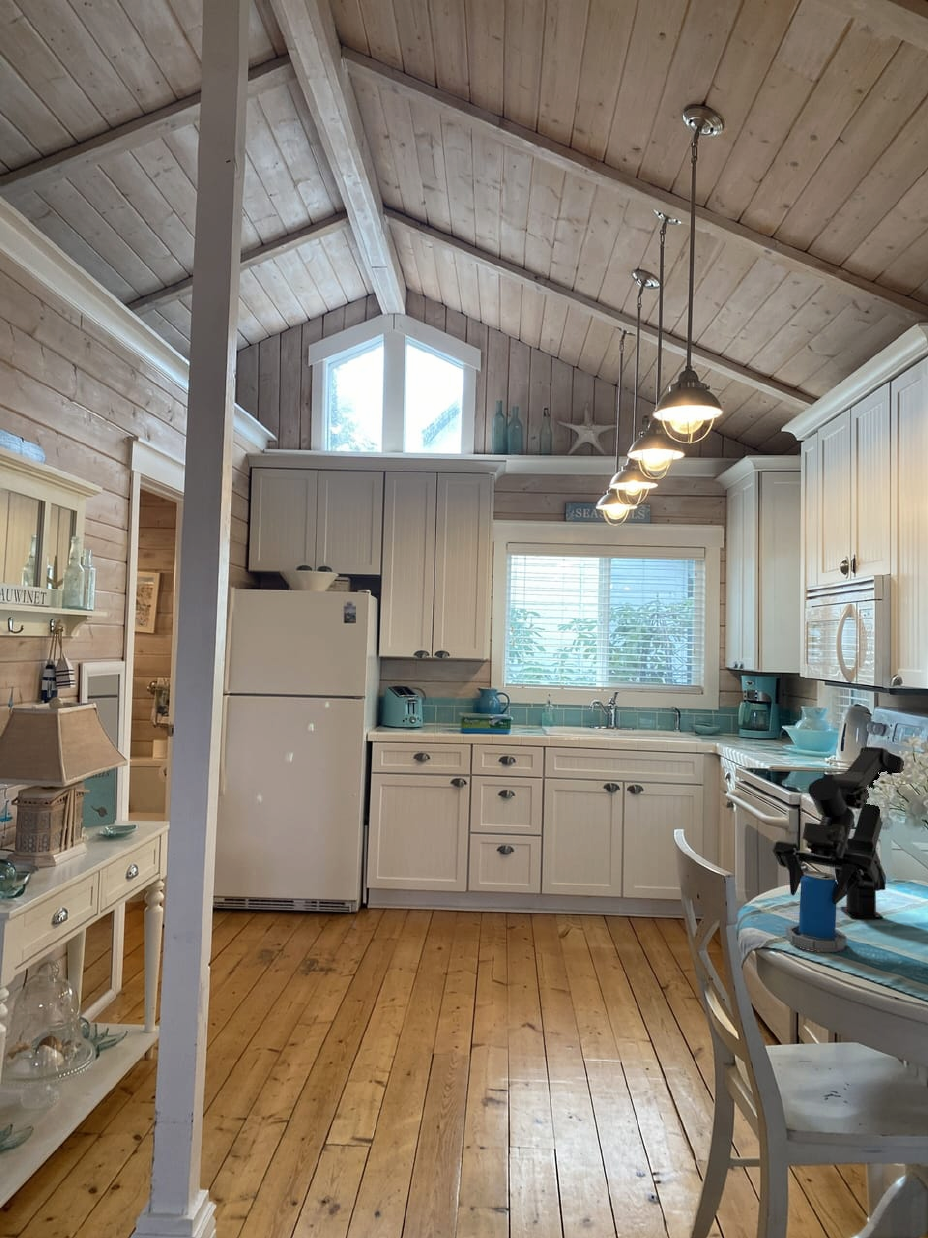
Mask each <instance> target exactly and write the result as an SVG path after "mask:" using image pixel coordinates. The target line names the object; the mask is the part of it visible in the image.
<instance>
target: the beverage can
mask: <svg viewBox="0 0 928 1238" xmlns="http://www.w3.org/2000/svg"><path fill="white" fill-rule="evenodd" d="M837 884H838V883H837V880H836V875H834V874H830V873H827V872H823V871H817V870H805V871H803V875H802V878H801V881H800V898H799V914H798V915H799V918H798V919H799V920H798V924H799V932H800V933H801V934H802V935H803V937H805V938H808V939H811V940H823V941H831V939H834V938H835V929H836V925H837V924H836V923H837V922H836V920H837V904H838V903H837V904H833V901H832V900H833V896H834V892H835V889H836V887H837Z"/></svg>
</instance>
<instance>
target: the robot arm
mask: <svg viewBox="0 0 928 1238" xmlns="http://www.w3.org/2000/svg"><path fill="white" fill-rule="evenodd" d="M904 762H905V760H904V759H903V758H902V757H901V756H897V755H896V754H893V753H891V752H889V751H888V749H887V748H884V747H877V746H864V747H863V746H862V747H861V748H860V751H859V755H858V756H857V757H856V758H855V760H854V761H852V764H851V765H850V766H849V767H848V768H847V770H846V771H845V772H841V773H837V774H830V773H829V774H828V773H823V776H822V777H821V778H820V777H819V778H817V779H815V780H813V782H811V783H810V784H809V785H808V794H809V797H810V798H811V801H812V802H813V804H814V807H815V810H816V812H817V813H818V814H819V815H821V819H820V822H819V824H818V823H815V822H814V823H813V822H805V823H804V827H803V833H802V840H804V841H807V842H806V847H807V849H809V850H810V852H809V851H804V850H800V848H799V847H798V845H797V843H795V842H788V841H786V840H785V841H784V840H778V841H775V843H774V845H773V848H772V852H773V854H774V856H775V858H776V860H777V862H778V864H779V865H780V866H781V867H782V868H786V869H787V871H788V876H789V890H790V895H791V896H795V894H796V893H797V892H798V888H799V886H800V884H801V878H802V876H803V875H804V871H803V869H802V863H803V862H804V863H807V864H808V863H809V864H814V865H818V866H823V867H828V868H829V867H830V868H834V871H835V872H834V873H835V880H836V882H837V887H836V889H835V892H834V896H833V900H832V901H833V904H838V903H839V902H841V900H842V899H843V898H846V903H845V905H846V906H840V908H839V909H840V910H841V911H842V912H843V913H844V914H846V915H847V916H848V917H850V918H852V919H879V920H882V919H883V915H882V914H880V913H879V912H878V911H877V894H876V893H877V892H880V891H885V890H886V889H887V888H886V883H887V880H886V879H887V875H886V874H885V872H884V869H883V867H882V866H883V865H882V863H881V860H880V857H879V854H878V852H877V849H876V848H877V844H878V841H879V837H880V834H881V831H882V827H883V823H884V821H883V822H882V821H881V818H880V809H879V807H878V806H875V805H870V804H866V803H867V799H868V798H869V793H868V790H867V789H868V787H869V788H870V787H871V788H872V787H873V786H874V785H873V783H874V782H873V781H874V780H877V779H878V778H879V776H880V775H879V774H880V773H881V772H885V771H887V772H888V773H887V774H892V773H901V772H902V771H903V770H904V769H903V766H904ZM878 772H879V774H878ZM852 809H857V810H860V814H859V817H858V819H857V823H856V822H855V814H854V812H853V811H852ZM855 823H856V824H855ZM852 828H855V830H854V832H853V835H852V837H851V838H850V834H851V831H852Z"/></svg>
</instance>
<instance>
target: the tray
mask: <svg viewBox="0 0 928 1238" xmlns="http://www.w3.org/2000/svg"><path fill="white" fill-rule="evenodd" d="M785 936H786V937H787V941H789V942H790V943H791V944H794V945H796V946H798V947H801V948H804V949H809V950H813V951H819V952H818V953H820V952H835V953H839V952H838V951H840V952H841V950H842V951H844V949H845V945H847V936H846V935H845V934H844V933H842V932H841V931H840V930H839V929H836V928H835V938H834V939H831V941H823V940H811V939H808V938H805V937H803V935H802V934H801V933H800V932H799V923H795V924H793V925H791V926H789V927H787V928H785ZM789 942H788V943H789ZM790 943H789V944H790ZM791 944H790V945H791Z"/></svg>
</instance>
